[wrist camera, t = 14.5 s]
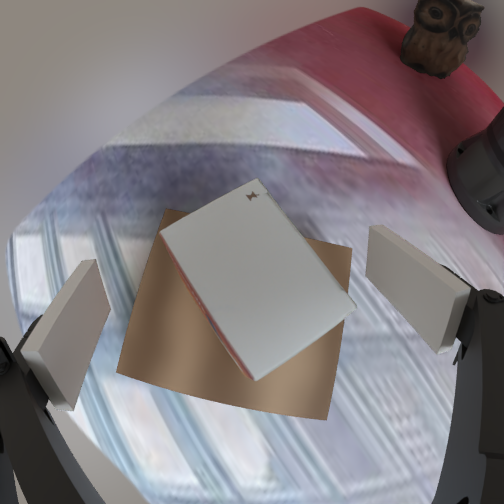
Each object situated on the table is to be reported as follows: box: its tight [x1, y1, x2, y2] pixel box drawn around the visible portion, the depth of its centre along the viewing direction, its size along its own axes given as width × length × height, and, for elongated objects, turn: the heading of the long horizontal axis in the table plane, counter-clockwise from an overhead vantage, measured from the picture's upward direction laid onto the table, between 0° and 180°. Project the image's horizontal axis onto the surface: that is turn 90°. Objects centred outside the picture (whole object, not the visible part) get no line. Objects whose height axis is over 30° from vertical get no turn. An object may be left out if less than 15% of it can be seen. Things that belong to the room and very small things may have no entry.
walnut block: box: [116, 209, 352, 420], centre depth 26 cm, size 16×14×6 cm
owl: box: [400, 0, 484, 79], centre depth 39 cm, size 13×13×20 cm
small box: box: [159, 178, 357, 381], centre depth 18 cm, size 8×6×10 cm
